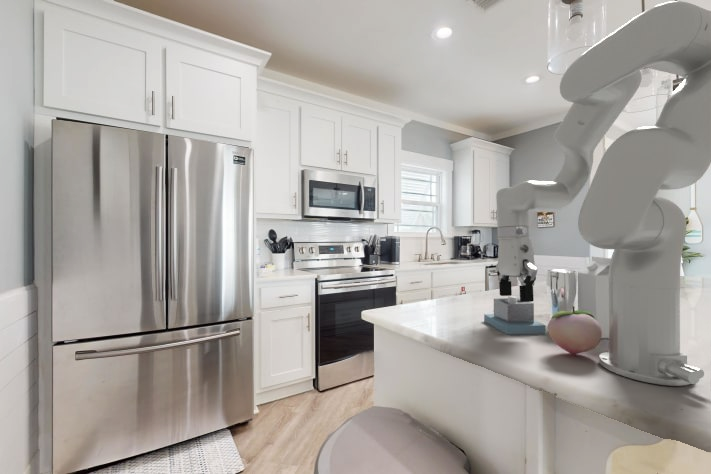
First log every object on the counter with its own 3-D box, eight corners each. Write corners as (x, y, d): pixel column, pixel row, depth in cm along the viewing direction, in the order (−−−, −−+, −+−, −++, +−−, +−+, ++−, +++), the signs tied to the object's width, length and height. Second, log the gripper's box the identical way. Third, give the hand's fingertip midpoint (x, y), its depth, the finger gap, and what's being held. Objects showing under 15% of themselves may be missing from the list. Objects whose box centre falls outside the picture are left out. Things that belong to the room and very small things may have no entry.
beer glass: (540, 325, 86) (540, 270, 86) (557, 321, 89) (556, 268, 89) (567, 332, 80) (566, 272, 80) (583, 328, 83) (583, 271, 83)
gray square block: (533, 322, 81) (533, 303, 81) (507, 323, 81) (507, 304, 81) (518, 315, 88) (517, 298, 88) (493, 316, 88) (493, 298, 88)
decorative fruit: (577, 366, 59) (576, 313, 59) (541, 351, 67) (539, 304, 67) (614, 360, 62) (613, 308, 62) (575, 346, 69) (574, 301, 69)
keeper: (545, 333, 79) (545, 301, 79) (507, 334, 78) (506, 302, 78) (517, 320, 91) (517, 292, 91) (484, 321, 90) (484, 293, 90)
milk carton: (607, 330, 81) (606, 256, 81) (628, 339, 74) (627, 258, 74) (577, 329, 82) (577, 256, 81) (595, 338, 74) (595, 258, 74)
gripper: (548, 232, 76) (551, 303, 75) (509, 234, 93) (511, 293, 92) (518, 232, 75) (521, 304, 75) (484, 235, 92) (486, 294, 92)
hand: (515, 298), depth 84 cm, fingers open, 9 cm apart
